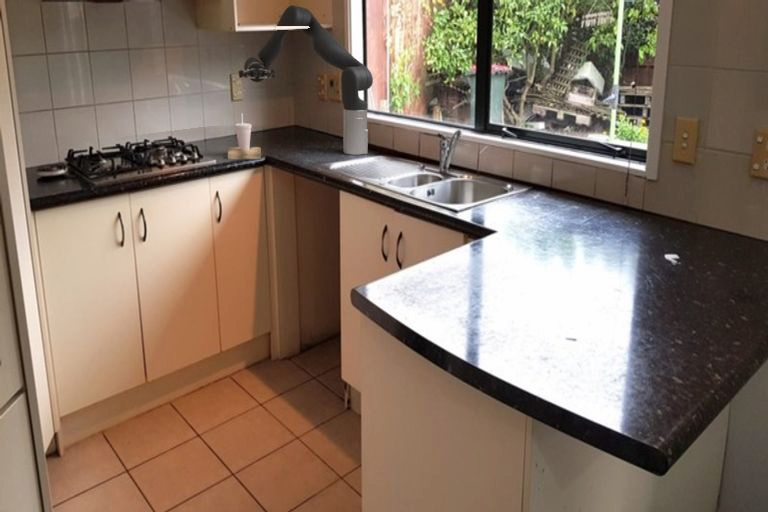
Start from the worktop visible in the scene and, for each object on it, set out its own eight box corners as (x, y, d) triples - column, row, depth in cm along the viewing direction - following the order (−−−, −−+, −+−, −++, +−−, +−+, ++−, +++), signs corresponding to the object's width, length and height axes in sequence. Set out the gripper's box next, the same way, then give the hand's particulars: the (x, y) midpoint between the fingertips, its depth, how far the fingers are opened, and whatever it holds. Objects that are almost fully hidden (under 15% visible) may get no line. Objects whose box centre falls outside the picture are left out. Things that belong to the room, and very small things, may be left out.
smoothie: (232, 150, 271) (230, 113, 266) (243, 147, 276) (241, 111, 272) (245, 152, 268) (244, 114, 264) (256, 149, 274) (254, 112, 269)
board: (260, 152, 279) (260, 146, 279) (260, 158, 268) (260, 153, 268) (229, 152, 278) (229, 146, 277) (228, 159, 266) (227, 153, 266)
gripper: (238, 62, 291) (238, 65, 276) (273, 62, 294) (275, 65, 279) (239, 81, 294) (239, 85, 279) (274, 81, 296) (276, 84, 281)
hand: (257, 75), depth 279 cm, fingers open, 8 cm apart
